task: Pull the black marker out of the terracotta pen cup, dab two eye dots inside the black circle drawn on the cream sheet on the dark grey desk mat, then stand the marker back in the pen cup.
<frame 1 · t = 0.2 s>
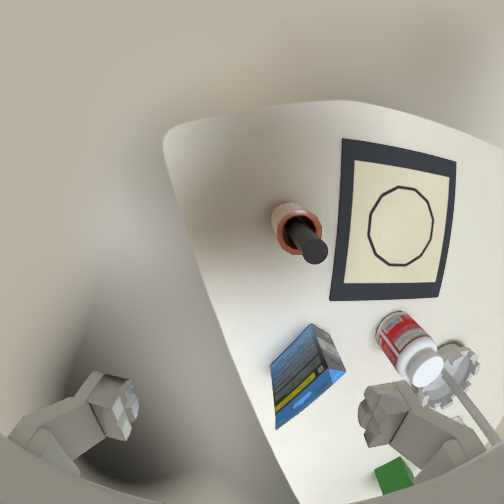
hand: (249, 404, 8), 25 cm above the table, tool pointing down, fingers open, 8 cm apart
flag stand: (439, 367, 38), on the table
white cup: (450, 423, 44), on the table
desk mat: (401, 226, 32), on the table
marker: (288, 220, 31), resting on pen cup
hardback book: (394, 470, 49), on the table
pen cup: (288, 219, 32), on the table
pill bottle: (392, 328, 36), on the table
blue retail box: (299, 350, 36), on the table
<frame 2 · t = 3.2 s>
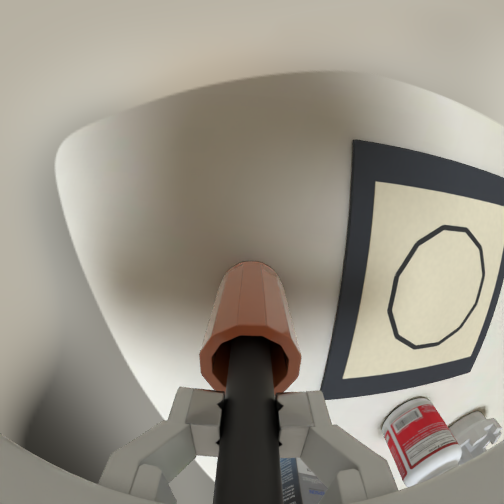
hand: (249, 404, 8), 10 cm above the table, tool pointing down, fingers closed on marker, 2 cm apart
flag stand: (453, 436, 25), on the table
desk mat: (439, 289, 18), on the table
marker: (251, 293, 17), point 1 cm above the table, touching gripper, pen cup
pen cup: (251, 290, 18), on the table
pill bottle: (405, 414, 22), on the table
blue retail box: (275, 447, 23), on the table
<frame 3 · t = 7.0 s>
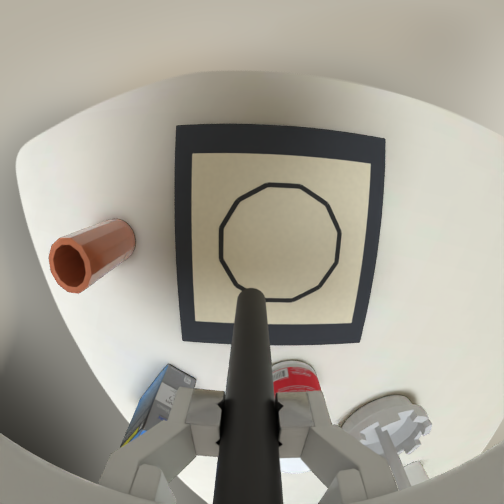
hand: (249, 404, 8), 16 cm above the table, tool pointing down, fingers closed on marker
flag stand: (376, 420, 30), on the table
white cup: (408, 467, 36), on the table
desk mat: (280, 244, 24), on the table
marker: (251, 293, 17), point 7 cm above the table, touching gripper
pen cup: (116, 239, 24), on the table
pill bottle: (288, 378, 28), on the table
blue retail box: (166, 390, 28), on the table
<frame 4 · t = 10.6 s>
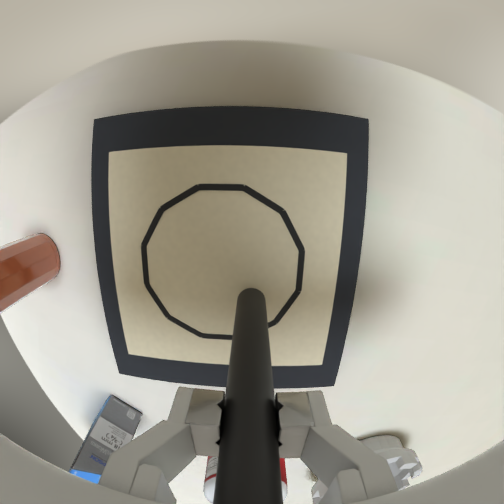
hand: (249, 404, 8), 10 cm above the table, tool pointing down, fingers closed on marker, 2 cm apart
flag stand: (359, 459, 24), on the table
desk mat: (221, 266, 18), on the table
marker: (251, 293, 17), point 1 cm above the table, touching gripper
pen cup: (43, 257, 18), on the table
pill bottle: (246, 420, 22), on the table
blue retail box: (115, 419, 22), on the table
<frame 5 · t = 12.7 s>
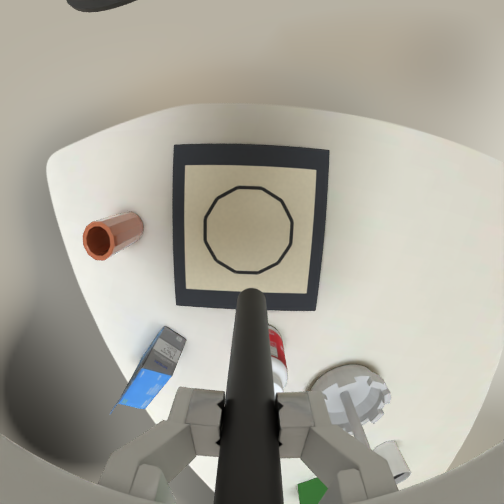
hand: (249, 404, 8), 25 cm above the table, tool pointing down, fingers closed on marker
flag stand: (342, 389, 39), on the table
white cup: (383, 447, 45), on the table
desk mat: (248, 230, 32), on the table
marker: (251, 293, 18), point 16 cm above the table, touching gripper
hardback book: (325, 487, 49), on the table
pen cup: (129, 227, 32), on the table
pill bottle: (259, 340, 36), on the table
blue retail box: (162, 350, 37), on the table
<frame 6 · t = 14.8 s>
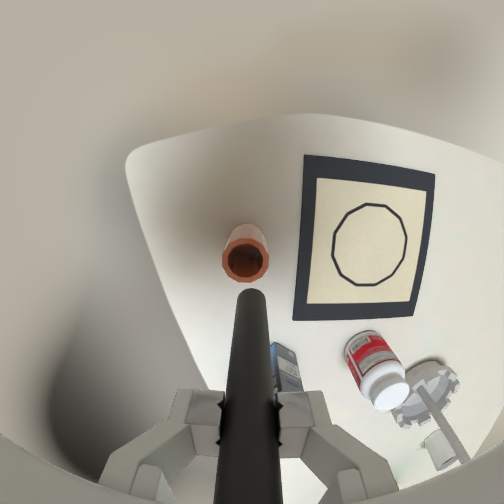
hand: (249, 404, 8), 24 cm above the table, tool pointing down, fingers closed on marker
flag stand: (417, 384, 38), on the table
white cup: (433, 435, 44), on the table
desk mat: (370, 245, 32), on the table
marker: (251, 294, 17), point 15 cm above the table, touching gripper
pen cup: (247, 240, 32), on the table
pill bottle: (362, 346, 36), on the table
blue retail box: (265, 366, 37), on the table
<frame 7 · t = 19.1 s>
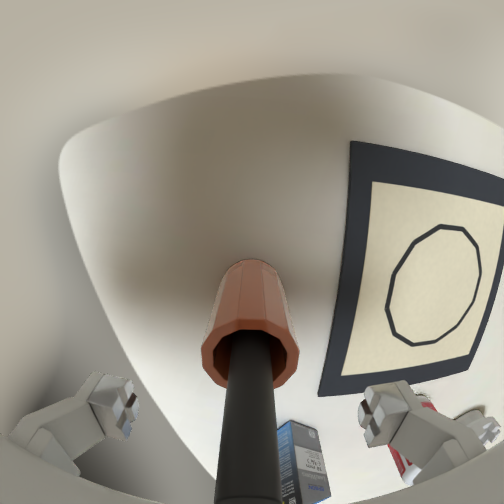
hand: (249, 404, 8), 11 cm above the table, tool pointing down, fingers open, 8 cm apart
flag stand: (452, 435, 25), on the table
desk mat: (436, 287, 18), on the table
marker: (251, 292, 18), resting on pen cup
pen cup: (251, 287, 18), on the table
pill bottle: (403, 412, 23), on the table
blue retail box: (275, 444, 23), on the table
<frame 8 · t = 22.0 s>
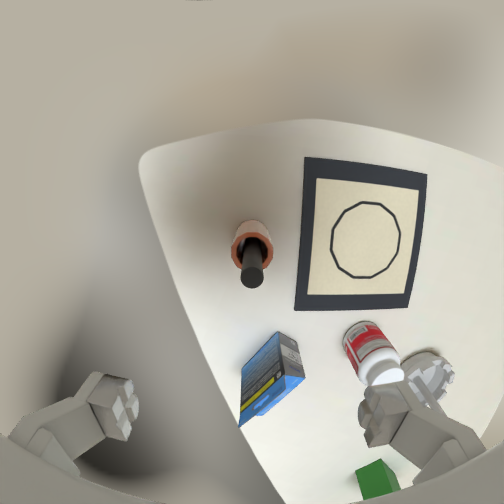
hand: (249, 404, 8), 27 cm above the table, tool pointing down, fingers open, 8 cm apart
flag stand: (413, 375, 41), on the table
desk mat: (365, 240, 34), on the table
marker: (252, 237, 34), resting on pen cup
hardback book: (376, 472, 52), on the table
pen cup: (252, 235, 34), on the table
pill bottle: (360, 336, 39), on the table
blue retail box: (268, 355, 39), on the table
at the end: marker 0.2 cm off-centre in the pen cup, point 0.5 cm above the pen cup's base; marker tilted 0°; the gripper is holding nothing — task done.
